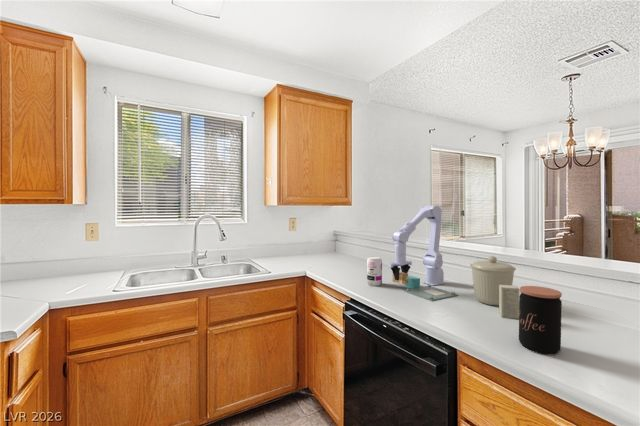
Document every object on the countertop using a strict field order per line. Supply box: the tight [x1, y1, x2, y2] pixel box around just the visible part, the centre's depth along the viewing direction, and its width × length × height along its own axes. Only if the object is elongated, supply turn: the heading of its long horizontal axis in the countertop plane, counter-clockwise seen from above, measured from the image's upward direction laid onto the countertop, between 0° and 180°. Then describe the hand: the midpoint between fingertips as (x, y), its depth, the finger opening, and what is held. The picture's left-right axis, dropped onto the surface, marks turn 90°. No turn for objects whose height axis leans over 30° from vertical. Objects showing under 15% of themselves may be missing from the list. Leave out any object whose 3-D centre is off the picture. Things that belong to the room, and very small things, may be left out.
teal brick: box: [403, 275, 421, 289], centre depth 165 cm, size 4×7×5 cm, turn 28°
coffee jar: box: [518, 285, 563, 355], centre depth 95 cm, size 11×11×18 cm
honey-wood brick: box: [392, 271, 409, 285], centre depth 161 cm, size 4×7×5 cm, turn 28°
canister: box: [469, 255, 517, 307], centre depth 138 cm, size 18×18×21 cm
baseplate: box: [403, 284, 459, 302], centre depth 152 cm, size 18×18×1 cm
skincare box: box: [498, 284, 520, 320], centre depth 121 cm, size 6×4×12 cm
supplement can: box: [366, 256, 383, 287], centre depth 169 cm, size 8×8×15 cm
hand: (400, 279), depth 161 cm, fingers closed on honey-wood brick, 4 cm apart
